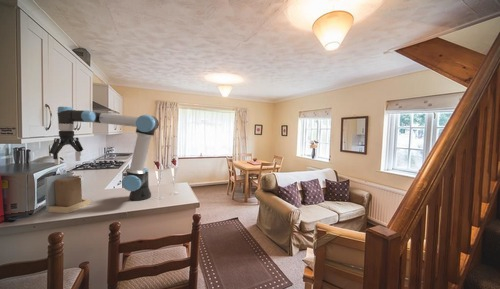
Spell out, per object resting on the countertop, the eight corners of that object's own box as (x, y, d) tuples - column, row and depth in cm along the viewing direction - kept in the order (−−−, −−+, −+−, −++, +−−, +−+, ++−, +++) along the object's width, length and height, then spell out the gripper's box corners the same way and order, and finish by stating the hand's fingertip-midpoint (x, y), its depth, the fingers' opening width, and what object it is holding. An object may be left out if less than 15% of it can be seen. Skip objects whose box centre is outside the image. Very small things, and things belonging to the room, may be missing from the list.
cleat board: (90, 203, 143) (89, 173, 141) (67, 213, 127) (65, 178, 125) (71, 202, 145) (69, 172, 143) (46, 211, 129) (44, 177, 127)
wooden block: (67, 211, 130) (65, 180, 128) (55, 209, 132) (53, 179, 130) (83, 205, 140) (81, 177, 138) (71, 204, 142) (69, 176, 140)
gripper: (79, 130, 145) (80, 159, 146) (39, 130, 120) (41, 165, 122) (88, 130, 144) (90, 159, 146) (50, 130, 119) (52, 166, 121)
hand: (68, 162), depth 134 cm, fingers open, 13 cm apart
